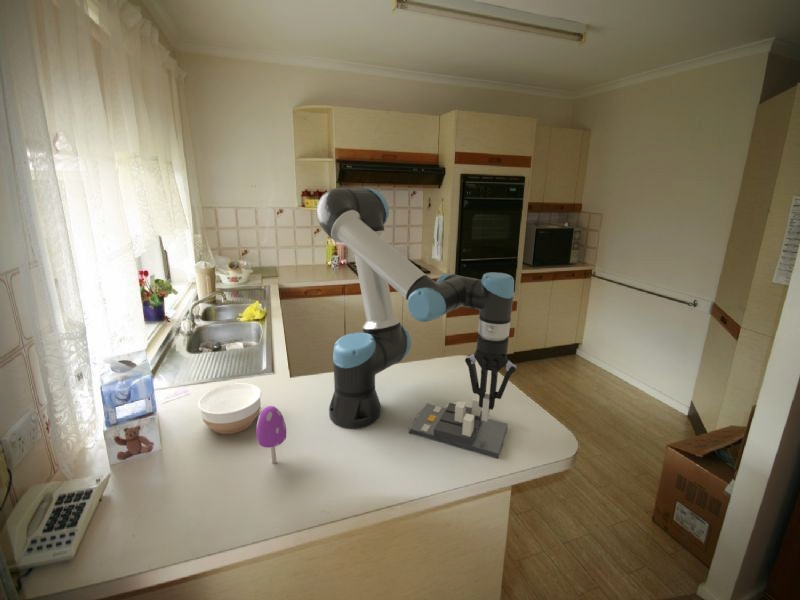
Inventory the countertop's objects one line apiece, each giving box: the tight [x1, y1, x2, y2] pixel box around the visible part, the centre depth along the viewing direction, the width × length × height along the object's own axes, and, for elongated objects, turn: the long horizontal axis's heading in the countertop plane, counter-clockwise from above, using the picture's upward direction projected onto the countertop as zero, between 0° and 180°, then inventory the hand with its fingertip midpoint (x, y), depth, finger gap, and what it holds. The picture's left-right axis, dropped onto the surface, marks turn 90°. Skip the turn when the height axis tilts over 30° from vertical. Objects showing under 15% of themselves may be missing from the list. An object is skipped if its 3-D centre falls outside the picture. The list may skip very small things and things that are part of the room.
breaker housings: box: [434, 394, 482, 446], centre depth 106 cm, size 10×14×7 cm
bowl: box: [197, 382, 262, 435], centre depth 108 cm, size 16×16×8 cm
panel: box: [408, 403, 509, 459], centre depth 107 cm, size 24×14×2 cm, turn 66°
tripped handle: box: [454, 400, 467, 423], centre depth 106 cm, size 2×3×4 cm
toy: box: [255, 405, 287, 464], centre depth 92 cm, size 7×7×15 cm
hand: (485, 418), depth 103 cm, fingers closed
